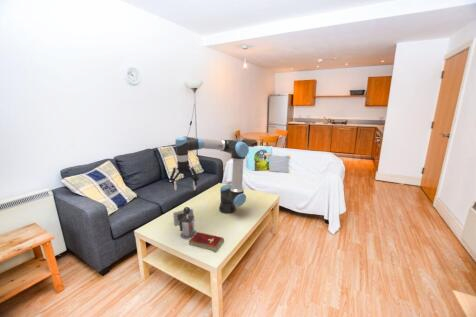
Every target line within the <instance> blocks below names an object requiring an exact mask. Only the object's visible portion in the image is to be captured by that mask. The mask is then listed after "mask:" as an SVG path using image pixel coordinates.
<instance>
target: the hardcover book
mask: <svg viewBox="0 0 476 317" xmlns="http://www.w3.org/2000/svg"><path fill="white" fill-rule="evenodd" d="M196 232H197V233H196V234H195V235H194V236H193V237H192V238H191V239H188V241H187V242H188V244H189V245H191V246H196V247H199V248H203V249H207V250H211V251H212V252H215V253H216V252H217V251H218V249H219V248H220V247H221V245H222V244H223V243H224V237H222V236H218V235H217V236H216V235H213V234H208V233H204V232H200V231H196Z"/></svg>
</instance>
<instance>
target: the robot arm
mask: <svg viewBox="0 0 476 317" xmlns="http://www.w3.org/2000/svg"><path fill="white" fill-rule="evenodd" d="M202 149H205V150H216V151H220V152H224V153H227V154H230V158H231V159H232V173H231V174H232V177H231V179H232V180H231V184H224V185H221V186H220V189H219V190H220V191H219V192H220V203H219V207H218V210H219V212H221V214H231V213H234V212H236V210H237V209H236V208H237V207H241V206H243V205H244V204H245V202H246V201H247V195H246V194H245V190H244V188H243V179H244V178H243V174H244V161H245V159H246V157H247V156H248V154H249V152H250V151H249V146H248V144H247V143H246V142H243V141H240V140H235V139H221V140H219V139H218V140H217V139H209V138H200V137H193V136H192V137H191V136H186V135H185V136H181V137H176V138H175V152H176V161H177V162H176V165H177V167H176V166H174V167H172V173H171V175H170V178H169V181H170V182H172V186H173V187H174V191H176V190H177V189H178V186H177V180H176V179H177V178H178V177H179V175H180V174H181V175H188V176H189V177H190V178H191V179H192V180H193V181H192V185H193V191H196V189H197V185H198V181H199V180H200V178H199V175H198V174H197V172H196V171H195V167H194V166H191V167H190V161H189V152H191V151H197V150H198V151H199V150H202ZM176 171H177V173H176ZM175 174H176V175H175ZM174 175H175V176H174Z"/></svg>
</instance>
